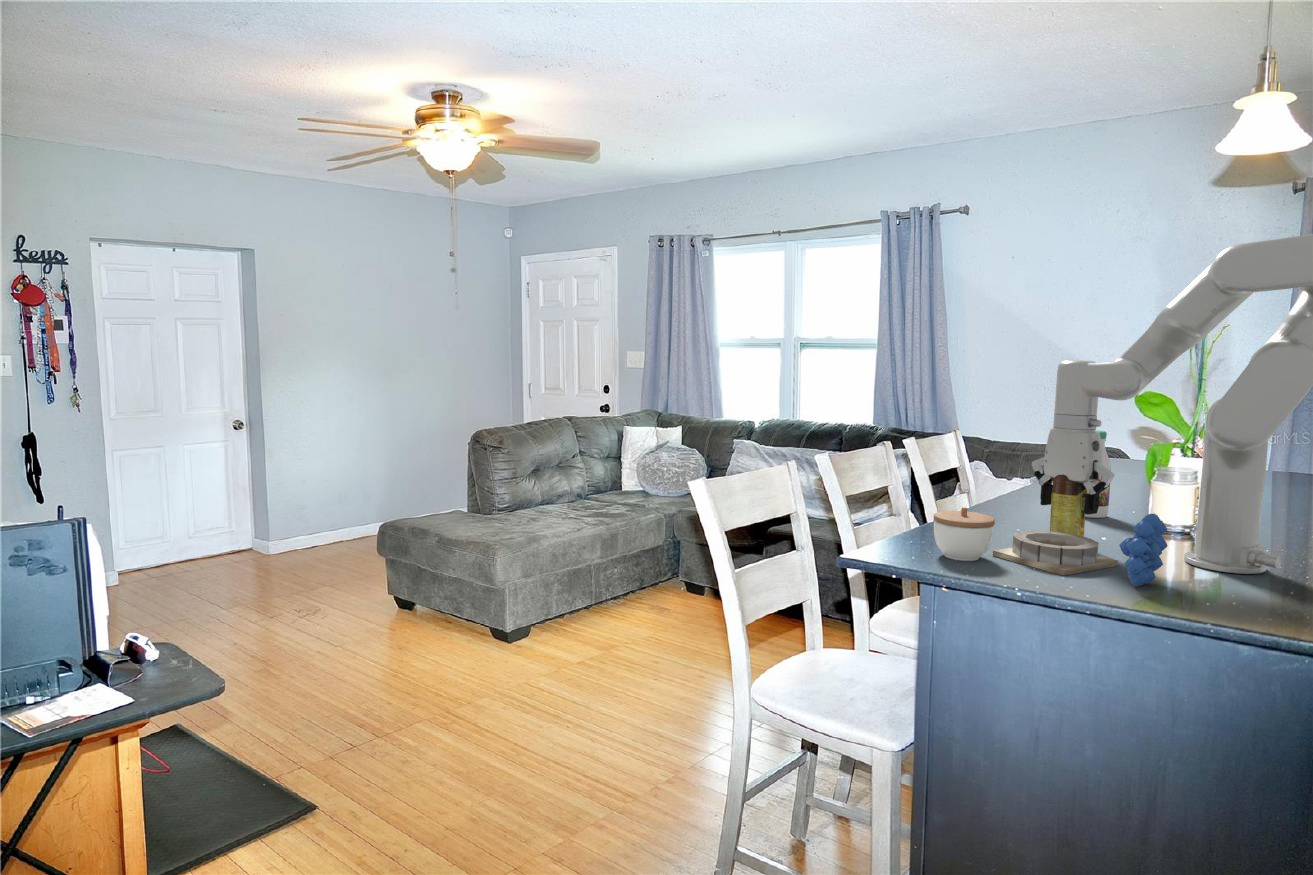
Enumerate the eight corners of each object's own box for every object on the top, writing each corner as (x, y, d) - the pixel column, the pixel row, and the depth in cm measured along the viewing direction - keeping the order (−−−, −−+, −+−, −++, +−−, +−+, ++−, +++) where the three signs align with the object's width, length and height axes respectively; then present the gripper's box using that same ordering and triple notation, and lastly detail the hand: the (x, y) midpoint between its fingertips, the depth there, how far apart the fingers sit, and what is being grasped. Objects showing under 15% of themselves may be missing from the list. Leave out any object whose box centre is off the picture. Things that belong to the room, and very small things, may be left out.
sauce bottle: (1087, 550, 166) (1095, 449, 164) (1052, 548, 167) (1060, 447, 165) (1077, 542, 173) (1085, 445, 170) (1044, 540, 174) (1051, 443, 172)
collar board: (1117, 565, 155) (1119, 544, 154) (1063, 575, 148) (1065, 553, 147) (1045, 547, 168) (1046, 527, 167) (992, 555, 161) (993, 534, 160)
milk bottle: (1063, 512, 203) (1069, 429, 200) (1089, 511, 205) (1095, 428, 203) (1088, 519, 195) (1095, 432, 193) (1115, 517, 198) (1122, 432, 195)
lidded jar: (961, 547, 167) (964, 500, 165) (1005, 561, 157) (1008, 511, 156) (919, 552, 162) (921, 504, 161) (961, 567, 152) (964, 515, 151)
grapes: (1130, 573, 150) (1136, 506, 149) (1172, 581, 145) (1179, 512, 144) (1101, 584, 143) (1107, 514, 141) (1145, 594, 138) (1151, 521, 136)
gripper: (1128, 427, 161) (1121, 515, 163) (1048, 418, 176) (1042, 500, 178) (1103, 428, 158) (1096, 519, 160) (1024, 419, 173) (1018, 502, 175)
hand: (1068, 509), depth 169 cm, fingers open, 9 cm apart
